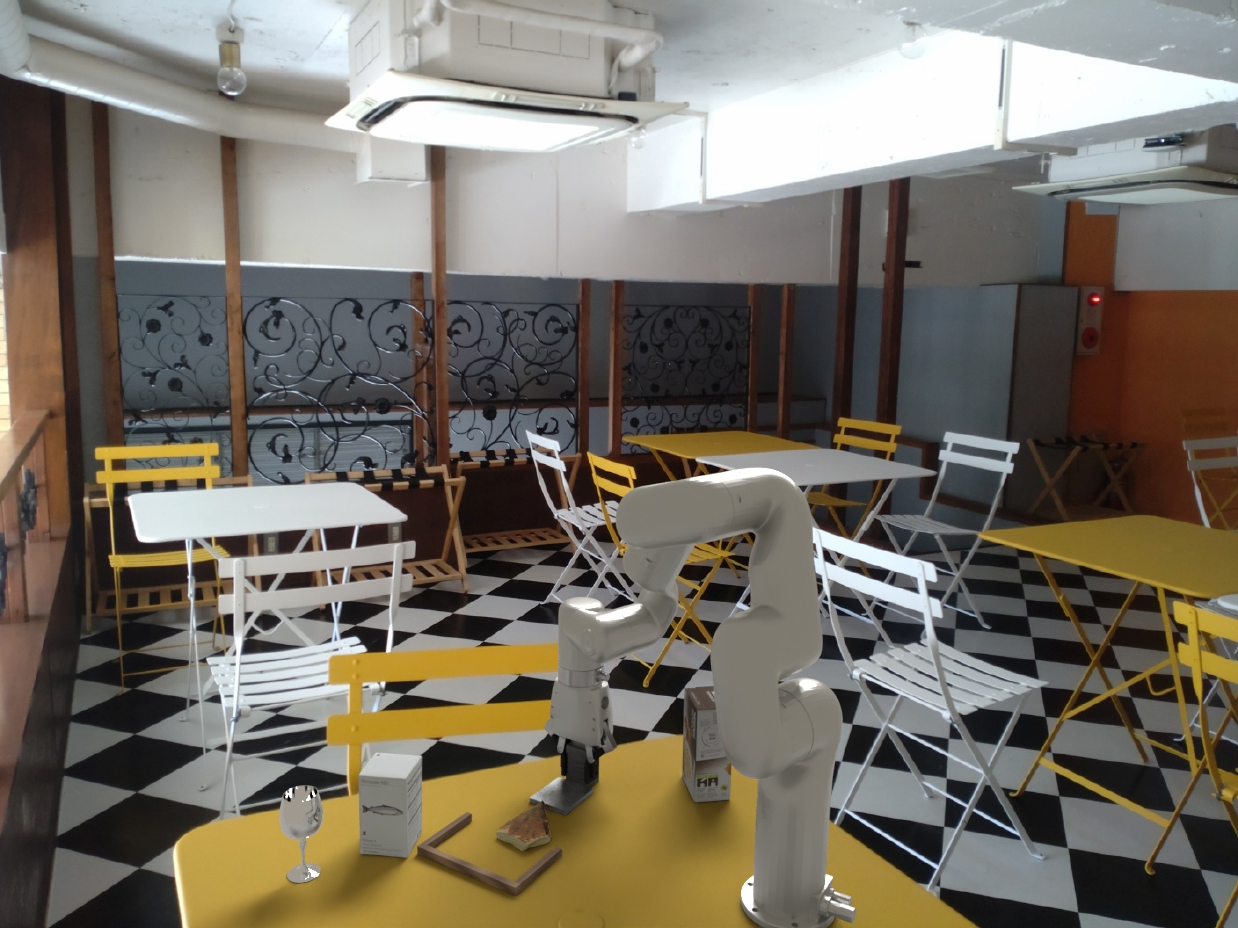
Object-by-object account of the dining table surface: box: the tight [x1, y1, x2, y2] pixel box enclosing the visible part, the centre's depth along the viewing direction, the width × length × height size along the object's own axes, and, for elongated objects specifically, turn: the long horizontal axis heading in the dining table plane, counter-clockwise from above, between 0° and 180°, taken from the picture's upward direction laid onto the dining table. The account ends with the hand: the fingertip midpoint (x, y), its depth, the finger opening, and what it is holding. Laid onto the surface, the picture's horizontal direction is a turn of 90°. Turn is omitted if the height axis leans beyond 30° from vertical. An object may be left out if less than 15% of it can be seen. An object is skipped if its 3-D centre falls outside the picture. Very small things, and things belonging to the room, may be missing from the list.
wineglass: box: [278, 784, 324, 884], centre depth 128 cm, size 6×6×12 cm
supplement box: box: [358, 752, 423, 859], centre depth 136 cm, size 7×7×13 cm
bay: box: [416, 811, 563, 897], centre depth 134 cm, size 18×11×1 cm, turn 59°
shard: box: [496, 801, 552, 852], centre depth 141 cm, size 11×8×2 cm
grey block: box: [529, 740, 600, 816], centre depth 151 cm, size 12×7×7 cm, turn 148°
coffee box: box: [681, 685, 732, 803], centre depth 153 cm, size 9×6×16 cm
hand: (579, 775), depth 154 cm, fingers closed on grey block, 4 cm apart
